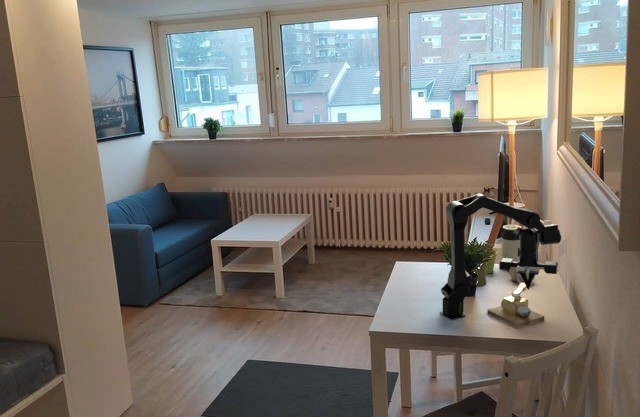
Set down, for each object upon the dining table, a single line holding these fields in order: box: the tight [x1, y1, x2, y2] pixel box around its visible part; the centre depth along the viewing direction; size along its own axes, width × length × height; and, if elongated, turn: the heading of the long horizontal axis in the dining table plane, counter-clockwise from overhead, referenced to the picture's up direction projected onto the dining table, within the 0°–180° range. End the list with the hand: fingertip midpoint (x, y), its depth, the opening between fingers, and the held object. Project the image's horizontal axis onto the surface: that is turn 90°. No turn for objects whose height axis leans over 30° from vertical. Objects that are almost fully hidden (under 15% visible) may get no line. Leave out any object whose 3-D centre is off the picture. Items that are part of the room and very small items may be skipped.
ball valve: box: [500, 295, 531, 318], centre depth 197 cm, size 6×10×6 cm, turn 25°
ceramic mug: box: [508, 267, 536, 286], centre depth 230 cm, size 11×8×8 cm
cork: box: [474, 262, 487, 287], centre depth 230 cm, size 6×6×11 cm
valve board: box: [486, 305, 545, 329], centre depth 198 cm, size 12×14×2 cm
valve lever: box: [511, 282, 527, 298], centre depth 200 cm, size 12×3×1 cm, turn 147°
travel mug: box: [500, 224, 523, 262], centre depth 246 cm, size 8×8×18 cm
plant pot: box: [484, 249, 498, 274], centre depth 244 cm, size 9×9×9 cm
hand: (528, 289), depth 202 cm, fingers closed
